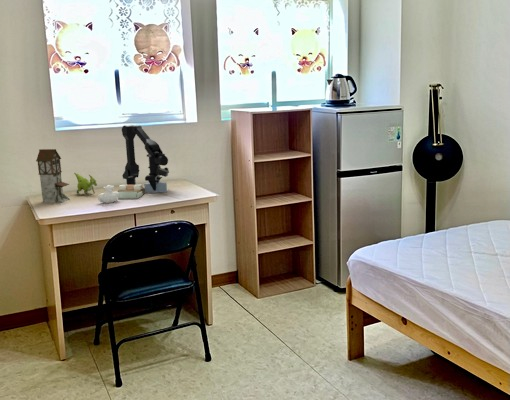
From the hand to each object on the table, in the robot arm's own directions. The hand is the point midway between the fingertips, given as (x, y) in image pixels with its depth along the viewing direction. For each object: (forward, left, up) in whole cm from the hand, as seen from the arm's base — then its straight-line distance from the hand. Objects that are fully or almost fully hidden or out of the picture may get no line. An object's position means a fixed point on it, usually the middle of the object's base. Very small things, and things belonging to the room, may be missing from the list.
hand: (155, 189), depth 336 cm
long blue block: (0, 0, -1) cm, 1 cm away
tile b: (+7, -13, +2) cm, 15 cm away
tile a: (+7, -18, +2) cm, 19 cm away
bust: (+30, -17, -2) cm, 35 cm away
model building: (+26, -51, -1) cm, 57 cm away
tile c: (+7, -9, +2) cm, 11 cm away
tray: (+16, -13, -1) cm, 20 cm away
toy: (+6, -42, -2) cm, 42 cm away
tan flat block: (+7, -13, -1) cm, 15 cm away
